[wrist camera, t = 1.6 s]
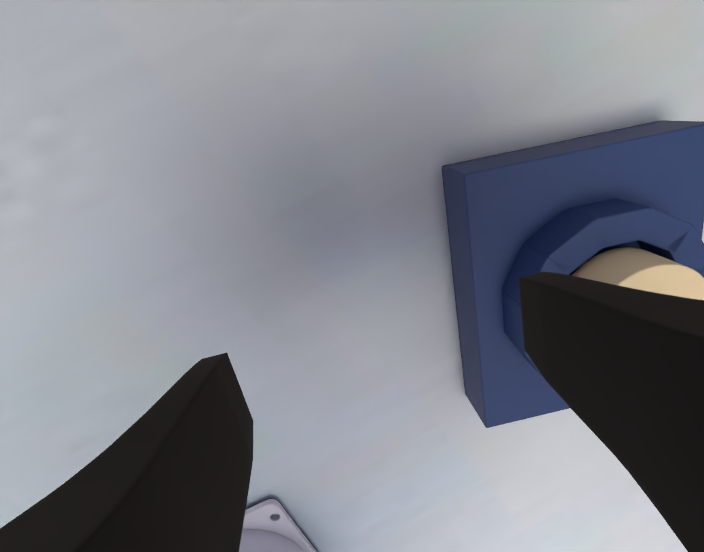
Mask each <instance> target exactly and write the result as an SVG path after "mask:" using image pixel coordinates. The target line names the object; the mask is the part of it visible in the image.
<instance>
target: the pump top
mask: <svg viewBox="0 0 704 552" xmlns="http://www.w3.org/2000/svg"><path fill="white" fill-rule="evenodd" d="M571 276H576V277H581V278H586V279H590V280H595V281H600V282H604V283H609V284H614V285H619V286H624V287H629V288H633V289H639V290H644V291H649V292H655V293H661V294H667V295H673V296H679V297H684V298H691V299H698V300H704V278H703V277H702V276H701V275H700V274H699V273H698V272H696V271H695V270H693V269H691V268H689V267H687V266H684V265H682V264H679V263H677V262H674V261H672V260H669V259H666V258H664V257H661V256H659V255H656V254H654V253H651V252H649V251H646V250H643V249H639V248H633V247H623V248H616V249H612V250H608V251H605V252H603V253H601V254H598V255H596V256H595V257H593V258H591V259H590V260H588V261H587V262H585V263H584V264H583V265H582V266H580V267H579V268H578V269H577V270H576V271H575V272H574V273H573V274H572V275H571Z"/></svg>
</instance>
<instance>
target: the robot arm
mask: <svg viewBox="0 0 704 552" xmlns="http://www.w3.org/2000/svg"><path fill="white" fill-rule="evenodd" d="M519 290H520V302H521V314H522V326H523V338H524V350H525V351H526V353H527V354H528V356H529V357H530V359H531V360H532V362H533V363H534V365H535V366H536V368H537V369H538V370H539V372H540V373H541V375H542V376H543V377H544V379H545V380H546V381H547V383H548V384H549V385H550V386H551V387H552V388H553V389H554V390H555V391H556V393H557V394H558V395H559V396H560V397H561V398H562V399H563V400H564V401H565V402H566V403H567V405H568V406H569V407H570V408H571V409H572V410H573V411H574V412H575V413H576V414H577V415H578V416H579V417H580V419H581V420H582V421H583V422H584V423H585V424H586V425H587V426H588V427H589V428H590V429H591V430H592V431H593V432H594V434H595V435H596V436H597V437H598V438H599V439H600V440H601V441H602V442H603V443H604V444H605V445H606V446H607V447H608V449H609V450H610V451H611V452H612V453H613V454H614V455H615V456H616V457H617V459H618V460H619V461H620V462H621V463H622V464H623V466H624V467H625V468H626V469H627V470H628V472H629V473H630V474H631V475H632V477H633V478H634V479H635V481H636V482H637V483H638V485H639V486H640V487H641V489H642V490H643V491H644V493H645V494H646V495H647V496H648V498H649V499H650V500H651V502H652V503H653V504H654V506H655V507H656V508H657V510H658V511H659V512H660V514H661V515H662V516H663V518H664V519H665V520H666V522H667V523H668V525H669V526H670V527H671V529H672V530H673V532H674V533H675V534H676V536H677V537H678V538H679V540H680V541H681V543H682V544H683V545H684V547H685V548H686V549H687V551H688V552H704V300H698V299H691V298H684V297H679V296H673V295H667V294H661V293H655V292H649V291H644V290H639V289H633V288H629V287H624V286H619V285H614V284H609V283H604V282H600V281H595V280H590V279H586V278H581V277H576V276H571V275H565V274H560V273H553V272H539V273H535V274H532V275H528V276H524V277H520V278H519ZM252 461H253V419H252V417H251V414H250V411H249V409H248V406H247V404H246V401H245V398H244V396H243V393H242V391H241V388H240V385H239V383H238V380H237V378H236V375H235V372H234V370H233V367H232V365H231V362H230V359H229V357H228V354H227V353H224V354H220V355H216V356H212V357H208V358H204V359H201V360H200V361H199V362H198V363H196V364H195V365H194V366H193V367H192V368H191V369H190V370H189V371H188V372H186V373H185V374H184V375H183V376H182V377H181V378H180V379H179V380H178V381H177V382H176V383H175V384H174V385H173V386H172V387H171V388H170V389H169V390H168V391H167V392H166V393H165V394H164V395H163V396H162V397H161V398H160V399H159V400H158V401H157V402H156V403H155V404H154V405H153V406H152V407H151V408H150V409H149V410H148V411H147V412H146V413H145V414H144V415H143V416H142V417H141V418H140V419H139V420H138V421H137V422H135V423H134V424H133V425H132V426H131V427H130V428H129V429H128V430H127V431H126V432H125V433H124V434H122V435H121V436H120V437H119V438H118V439H117V440H116V441H115V442H114V443H113V444H112V445H110V446H109V447H108V448H107V449H106V450H105V451H104V452H102V453H101V454H100V455H99V456H98V457H96V458H95V459H94V460H93V461H92V462H90V463H89V464H88V465H87V466H85V467H84V468H83V469H82V470H80V471H79V472H78V473H77V474H75V475H74V476H73V477H72V478H70V479H69V480H68V481H66V482H65V483H64V484H63V485H61V486H60V487H59V488H57V489H56V490H55V491H53V492H52V493H50V494H49V495H48V496H46V497H45V498H43V499H42V500H40V501H39V502H38V503H36V504H35V505H33V506H32V507H30V508H29V509H28V510H26V511H25V512H23V513H22V514H21V515H19V516H18V517H16V518H15V519H13V520H12V521H11V522H9V523H8V524H6V525H5V526H3V527H2V528H1V529H0V552H317V551H316V550H315V549H314V547H313V546H312V545H311V544H310V542H309V541H308V540H307V538H306V537H305V536H304V534H303V533H302V532H301V531H300V529H299V528H298V527H297V525H296V524H295V523H294V521H293V520H292V519H291V517H290V516H289V515H288V514H287V512H286V511H285V510H284V508H283V507H282V506H281V504H280V503H279V502H278V501H277V500H274V499H269V500H266V501H263V502H261V503H259V504H257V505H255V506H253V507H251V508H249V509H246V503H247V496H248V489H249V482H250V476H251V469H252ZM245 509H246V510H245ZM273 514H276V515H273Z"/></svg>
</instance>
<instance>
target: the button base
mask: <svg viewBox="0 0 704 552" xmlns="http://www.w3.org/2000/svg"><path fill="white" fill-rule="evenodd" d="M442 173H443V183H444V193H445V202H446V212H447V221H448V231H449V240H450V250H451V259H452V269H453V278H454V288H455V297H456V307H457V316H458V326H459V335H460V345H461V355H462V364H463V374H464V383H465V393H466V396H467V397H468V399H469V400H470V402H471V404H472V405H473V407H474V409H475V410H476V412H477V414H478V415H479V417H480V419H481V420H482V422H483V424H484V425H485V427H486V428H489V427H493V426H497V425H501V424H505V423H510V422H514V421H518V420H522V419H526V418H530V417H535V416H539V415H543V414H547V413H551V412H556V411H560V410H564V409H568V408H570V407H569V406H568V405H567V403H566V402H565V401H564V400H563V399H562V398H561V397H560V396H559V395H558V394H557V393H556V391H555V390H554V389H553V388H552V387H551V386H550V385H549V384H548V383H547V381H546V380H545V379H544V377H543V376H542V375H541V373H540V372H539V370H538V369H537V368H536V366H535V365H534V363H533V362H532V360H531V359H530V357H529V356H528V354H527V353H526V351H525V350H524V338H523V326H522V314H521V302H520V290H519V278H520V277H524V276H528V275H532V274H535V273H539V272H553V273H560V274H565V275H572V274H573V273H574V272H575V271H576V270H577V269H578V268H579V267H580V266H582V265H583V264H584V263H585V262H587V261H588V260H590V259H591V258H593V257H595V256H596V255H598V254H601V253H603V252H605V251H608V250H612V249H616V248H623V247H633V248H639V249H643V250H646V251H649V252H651V253H654V254H656V255H659V256H661V257H664V258H666V259H669V260H672V261H674V262H677V263H679V264H682V265H684V266H687V267H689V268H691V269H693V270H695V271H696V272H698V273H699V274H700V275H701V276H702V277H703V278H704V243H703V242H702V240H701V239H702V231H703V223H704V122H695V121H657V122H653V123H648V124H643V125H638V126H633V127H628V128H624V129H619V130H614V131H609V132H604V133H600V134H595V135H590V136H585V137H580V138H575V139H571V140H566V141H561V142H556V143H551V144H547V145H542V146H537V147H532V148H527V149H522V150H518V151H513V152H508V153H503V154H498V155H494V156H489V157H484V158H479V159H474V160H469V161H465V162H460V163H455V164H450V165H445V166H443V167H442Z"/></svg>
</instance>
